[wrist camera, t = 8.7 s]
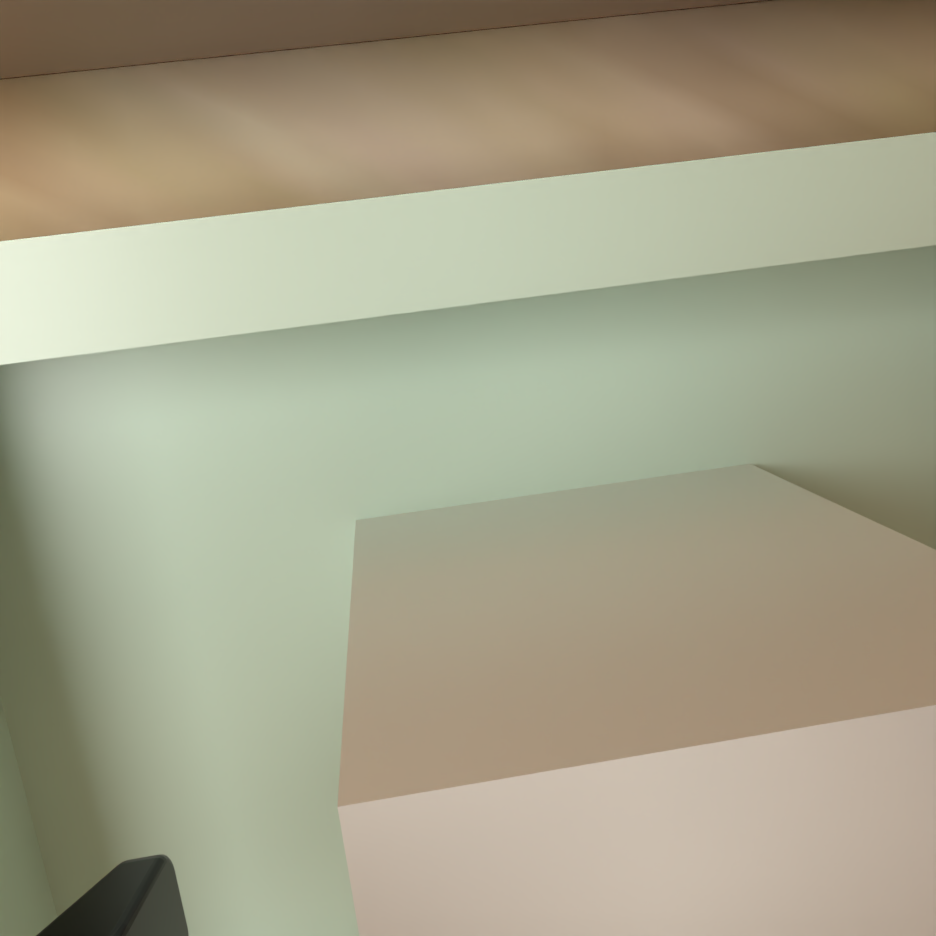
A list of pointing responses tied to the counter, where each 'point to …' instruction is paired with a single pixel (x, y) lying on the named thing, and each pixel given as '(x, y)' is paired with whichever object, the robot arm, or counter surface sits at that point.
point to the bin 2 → (389, 462)
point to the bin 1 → (256, 26)
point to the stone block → (641, 716)
